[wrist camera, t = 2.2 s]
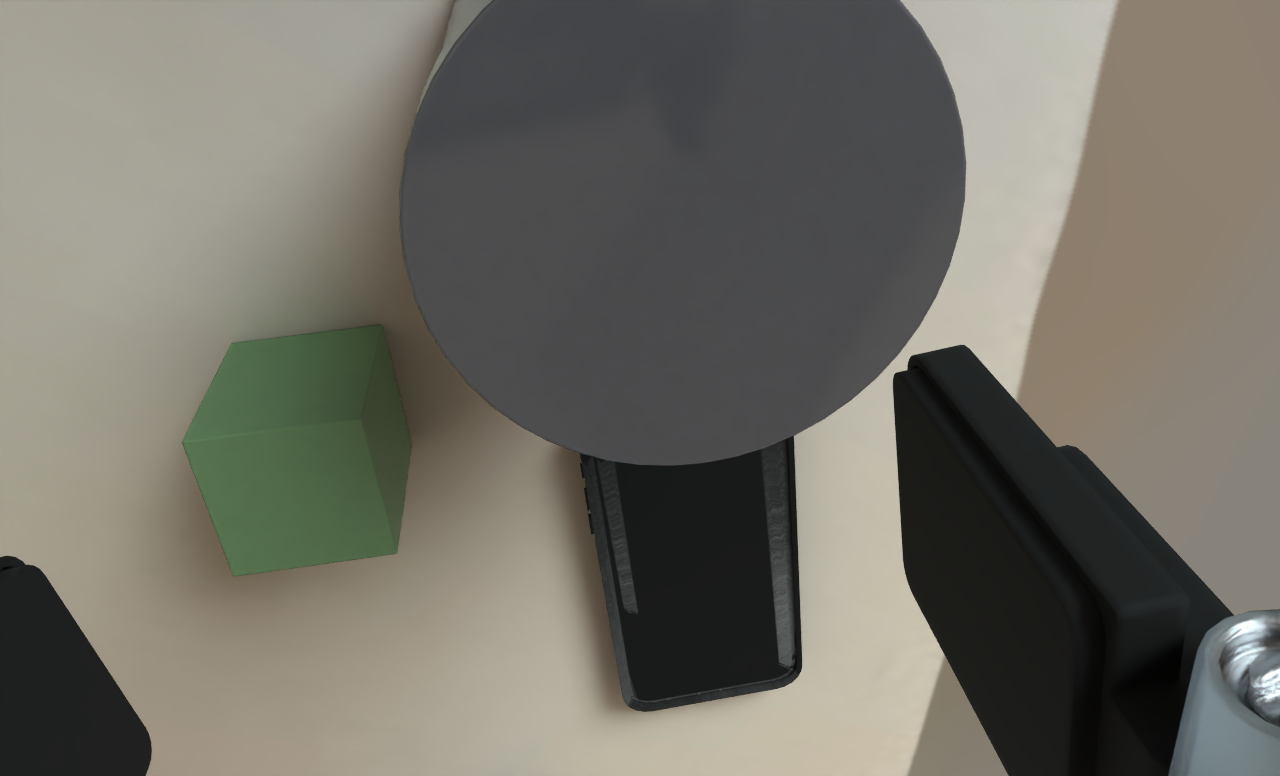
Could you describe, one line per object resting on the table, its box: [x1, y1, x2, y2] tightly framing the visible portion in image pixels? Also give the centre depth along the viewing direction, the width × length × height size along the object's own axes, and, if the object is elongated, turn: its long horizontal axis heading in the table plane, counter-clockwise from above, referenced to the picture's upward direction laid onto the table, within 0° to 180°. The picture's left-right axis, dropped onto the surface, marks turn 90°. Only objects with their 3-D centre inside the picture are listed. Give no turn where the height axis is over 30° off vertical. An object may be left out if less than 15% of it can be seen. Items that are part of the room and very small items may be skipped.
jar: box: [399, 0, 966, 466], centre depth 24 cm, size 10×10×14 cm
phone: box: [580, 436, 802, 712], centre depth 39 cm, size 8×1×15 cm
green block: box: [182, 325, 412, 576], centre depth 31 cm, size 5×5×6 cm
